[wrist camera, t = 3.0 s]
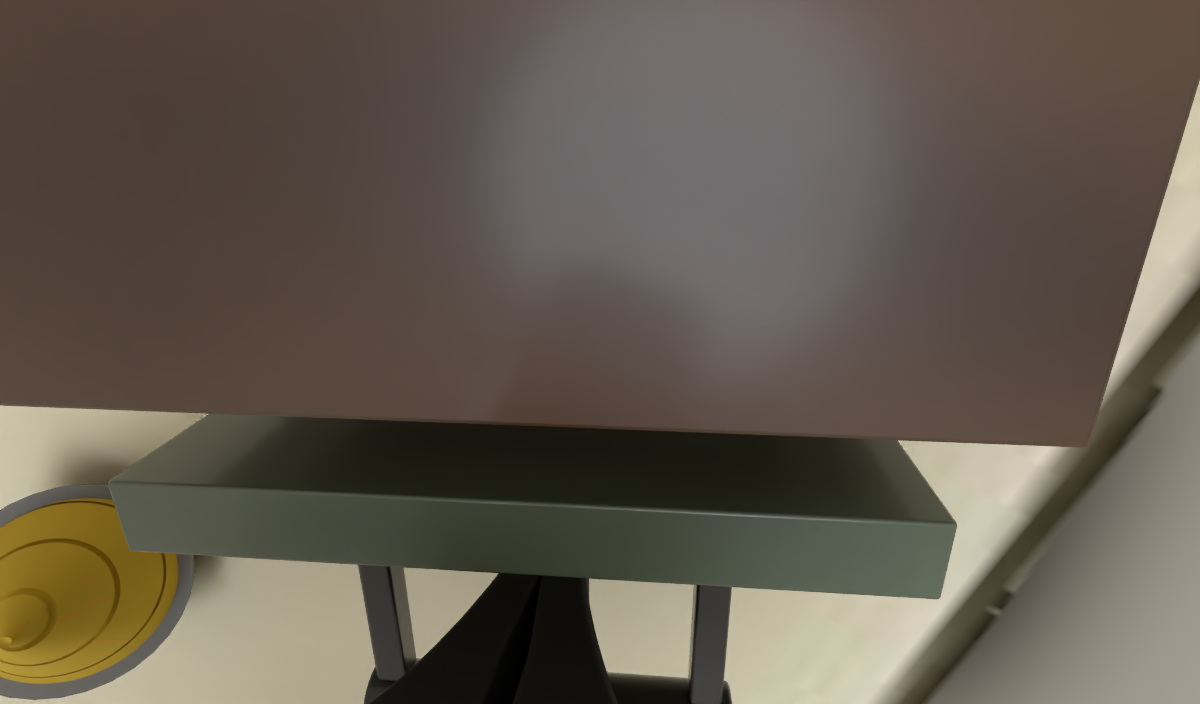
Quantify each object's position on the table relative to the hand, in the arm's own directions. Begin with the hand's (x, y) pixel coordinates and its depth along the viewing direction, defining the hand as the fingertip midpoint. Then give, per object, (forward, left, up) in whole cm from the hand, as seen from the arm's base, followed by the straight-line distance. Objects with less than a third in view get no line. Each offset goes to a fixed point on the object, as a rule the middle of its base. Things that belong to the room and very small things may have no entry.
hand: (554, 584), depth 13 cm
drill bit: (-2, +13, -5) cm, 14 cm away
